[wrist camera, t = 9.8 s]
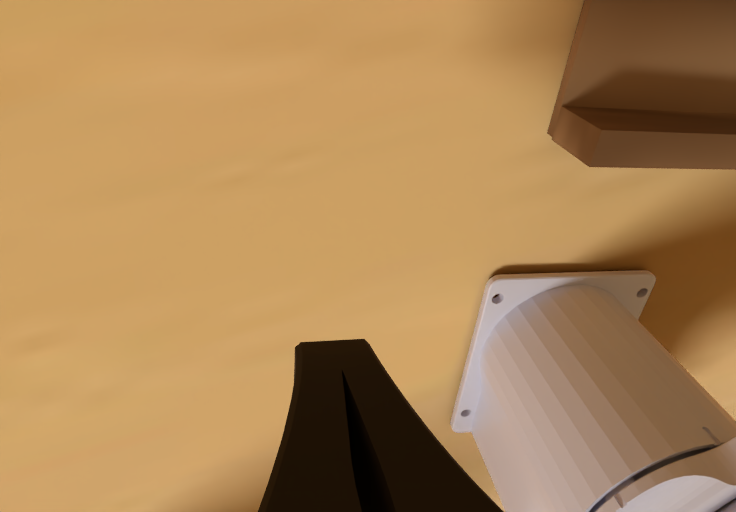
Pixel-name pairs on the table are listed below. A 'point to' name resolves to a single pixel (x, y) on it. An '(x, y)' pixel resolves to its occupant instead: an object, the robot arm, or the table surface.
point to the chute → (650, 85)
